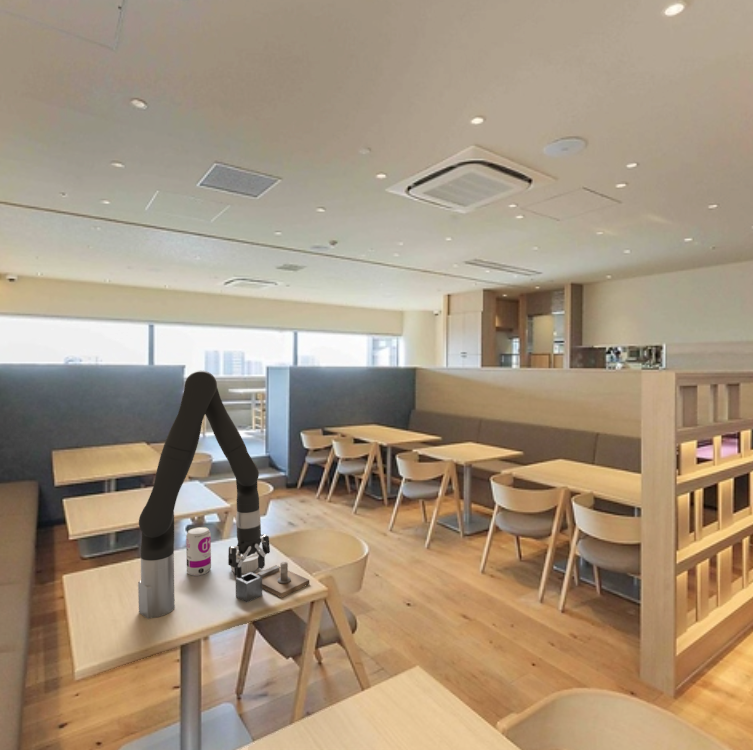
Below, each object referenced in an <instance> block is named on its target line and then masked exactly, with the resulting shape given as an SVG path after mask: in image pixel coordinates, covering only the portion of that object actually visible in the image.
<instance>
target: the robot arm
mask: <svg viewBox="0 0 753 750" xmlns="http://www.w3.org/2000/svg"><path fill="white" fill-rule="evenodd" d="M225 407H226V406H225V405H224V402H223V401H222V398H221V396H220V393H219V389H218V383H217V379H216V378H215V376H214V375H213V374H212V373H211V372H209V371H207V370H196V371H194V372H192V373H191V374H190V375H188V376H187V378H186V379H185V382H184V388H183V393H182V399H181V403H180V406H179V410H178V412H177V414H176V417H175V418H174V421H173V423H172V426H171V427H170V430H169V432H168V435H167V436H166V439H165V442H164V444H163V447H162V450H161V453H160V457H159V459H158V464H157V469H156V472H155V479H154V483H153V487H152V490H151V493H150V495H149V497H148V499H147V502H146V504H145V506H144V507H143V508H142V511H141V513H140V514H139V518H138V526H139V531H141V541H140V542H141V543H140V549H139V550H140V580H139V581H138V583H137V587H138V589H137V590H138V613H139V614H140V615H142V616H143V617H144V618H145V619H147V620H149V619H152V618H159V617H163V616H165V615H167V614H170V613H171V612H172V611H173V610H175V609H174V608H175V605H176V604H175V602H176V601H175V550H174V549H175V512H174V511H175V506H176V503H177V498H178V496H179V493H180V490H181V488H182V486H183V484H184V482H185V480H186V478H187V475H188V473H189V470H190V468H191V466H192V463H193V460H194V458H195V455H196V451H197V448H198V444H199V440H200V437H201V431H202V427H203V426H202V424H203V420H204V417H205V416H206V419H207V420H208V423H209V425H210V428H211V430H212V432H213V435H214V437H215V441H217V444H218V445H219V447H220V449H221V452H223V453H222V454H223V455H224V456H225V458H226V459H227V461H228V463H229V466H230V468H231V471H232V473H233V475H234V476H235V477H234V478H235V484H236V515H235V516H236V517H235V518H236V519H235V520H236V539H237V545H236V546H232V545H231V546H229V547H228V559H227V561H228V562H227V565H228V566H230V567H231V566H232V567H234V571H235V573H234V576H235V578H241V577H242V575H243V574H242V569H241V564H242V562H243V561H244V560H245V559H246V557H247V556H250V555H251V554H255V552H256V553H257V554H258V555H259V556H258V569H261V570H264V568H265V565H266V564H265V562H266V560H265V557H266V555H267V554H270V553H271V548H270V536H269V535H266V534H262V526H261V525H262V524H261V522H262V521H261V510H260V496H259V490H258V479H259V476H260V472H259V469H258V467H257V465H256V463H255V462H254V461H253V459H252V456H250V454H249V451H248V449H247V447H246V444H245V442H244V439H243V438H242V436H241V434H240V432H239V430H238V429H237V427H236V425H235V423H234V422H233V420H232V418H231V417H230V414H229V413H228V411H227V409H226V408H225ZM260 545H261V546H260ZM238 550H239V551H238ZM237 551H238V553H237ZM236 553H237V555H236ZM241 554H242V555H243V556H241Z"/></svg>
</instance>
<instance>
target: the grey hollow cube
mask: <svg viewBox="0 0 753 750" xmlns="http://www.w3.org/2000/svg"><path fill="white" fill-rule="evenodd" d="M261 596H263V588H262V577H261V576H259V575H257V574H256V573H255V572H250V573H247V574H242V577H241V578H237V577H235V597H236V598H238V599H240V600H241V601H243V602H244V603H249V602H251V601H254V600H256V599H257V598H260V597H261Z"/></svg>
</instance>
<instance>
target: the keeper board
mask: <svg viewBox="0 0 753 750" xmlns="http://www.w3.org/2000/svg"><path fill="white" fill-rule="evenodd" d="M288 565H289V563H288V562H287V561H282V562H280V566H279V565H276V564H275V565H273V566H271V567H269V568H266V569H262V570H261V571H259V572H256V573H255V574H257V575H259V576H261V577H262V590H265V591H267V592H269V593H271V594H274V595H275V596H278V597H279V598H281V599H282V598H284V597H286V596H288V595H289V594H292V593H294V592H296V591H298V590H300V589H302V587H303V586H305V585H307V584H309V585H310V579H308V578H306V577H304V576H301V575H299V574H297V573H294V572H292V571H290V570H289V569H288V568H289V566H288ZM307 586H308V585H307ZM305 587H306V586H305ZM303 588H304V587H303Z"/></svg>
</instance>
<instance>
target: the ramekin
mask: <svg viewBox="0 0 753 750" xmlns="http://www.w3.org/2000/svg"><path fill="white" fill-rule="evenodd" d="M238 551H239V550H237V553H238ZM237 553H236V555H237ZM241 556H243V555H242V554H241ZM258 556H259V555H258V554H257V553H256V552H255V554H251V555H250V556H247V557H246V559H245V560H244V561H243V562H242V564H241V569H242V575H245V574H247V573H250V572H252V573H255V572H256V571H257V570H258V569H259V567H258ZM230 568H231V571H232V572H233V573H234V574H235V571H234V567H232V566H230Z"/></svg>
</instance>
